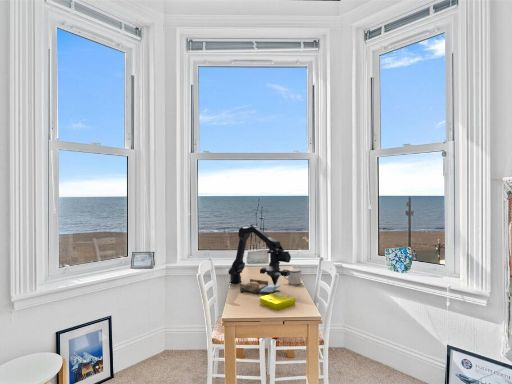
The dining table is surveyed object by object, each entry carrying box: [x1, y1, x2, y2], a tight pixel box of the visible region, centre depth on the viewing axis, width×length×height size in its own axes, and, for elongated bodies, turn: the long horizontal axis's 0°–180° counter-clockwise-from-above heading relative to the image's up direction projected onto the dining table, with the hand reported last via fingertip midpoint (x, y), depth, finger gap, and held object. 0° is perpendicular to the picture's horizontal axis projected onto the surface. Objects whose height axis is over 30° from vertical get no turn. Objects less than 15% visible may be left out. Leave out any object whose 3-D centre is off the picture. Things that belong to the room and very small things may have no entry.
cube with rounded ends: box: [248, 281, 259, 286], centre depth 203 cm, size 7×3×3 cm, turn 63°
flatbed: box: [239, 278, 269, 295], centre depth 207 cm, size 14×17×4 cm
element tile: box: [259, 291, 296, 312], centre depth 179 cm, size 15×15×5 cm
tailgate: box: [260, 283, 281, 293], centre depth 202 cm, size 1×14×8 cm
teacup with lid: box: [283, 265, 302, 285], centre depth 222 cm, size 12×9×12 cm
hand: (274, 285), depth 204 cm, fingers closed
